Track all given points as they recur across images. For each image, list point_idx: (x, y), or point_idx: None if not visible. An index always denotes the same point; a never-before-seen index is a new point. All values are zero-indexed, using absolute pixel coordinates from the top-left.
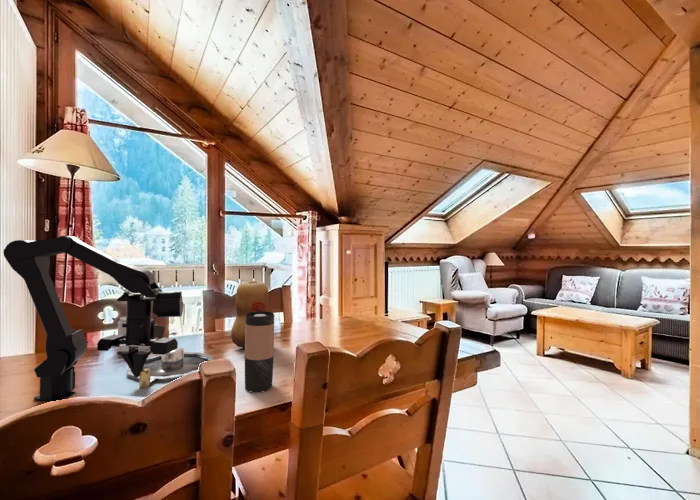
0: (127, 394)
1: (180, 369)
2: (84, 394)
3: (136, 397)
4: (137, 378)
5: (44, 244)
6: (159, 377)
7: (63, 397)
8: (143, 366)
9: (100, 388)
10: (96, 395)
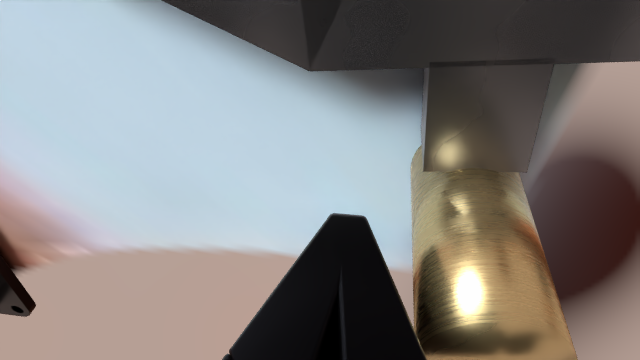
0: None
1: None
2: (54, 232)
3: None
4: (249, 35)
5: None
6: (611, 13)
7: (20, 293)
8: (411, 324)
9: (34, 144)
10: (146, 245)
